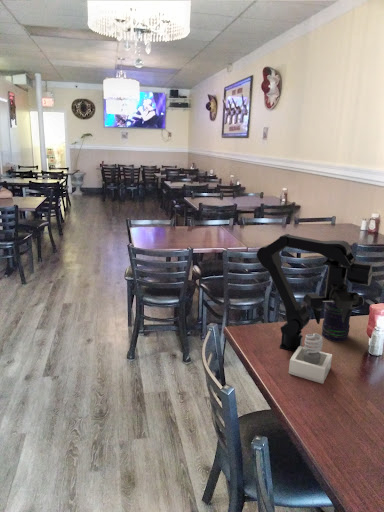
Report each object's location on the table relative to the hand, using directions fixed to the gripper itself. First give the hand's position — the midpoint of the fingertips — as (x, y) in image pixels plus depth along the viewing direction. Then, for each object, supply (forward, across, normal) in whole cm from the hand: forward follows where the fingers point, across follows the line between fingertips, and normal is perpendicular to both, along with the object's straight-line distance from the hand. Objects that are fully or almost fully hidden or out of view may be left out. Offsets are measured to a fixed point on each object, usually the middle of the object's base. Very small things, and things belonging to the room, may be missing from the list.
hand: (330, 322), depth 136 cm
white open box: (+13, -10, -8) cm, 18 cm away
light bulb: (+12, -9, -7) cm, 17 cm away
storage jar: (+13, +11, +16) cm, 23 cm away
